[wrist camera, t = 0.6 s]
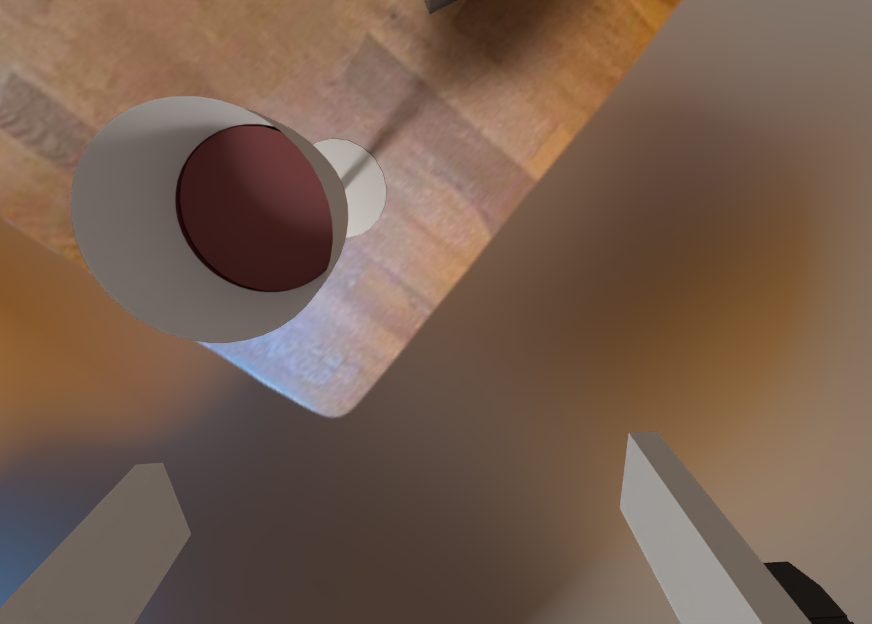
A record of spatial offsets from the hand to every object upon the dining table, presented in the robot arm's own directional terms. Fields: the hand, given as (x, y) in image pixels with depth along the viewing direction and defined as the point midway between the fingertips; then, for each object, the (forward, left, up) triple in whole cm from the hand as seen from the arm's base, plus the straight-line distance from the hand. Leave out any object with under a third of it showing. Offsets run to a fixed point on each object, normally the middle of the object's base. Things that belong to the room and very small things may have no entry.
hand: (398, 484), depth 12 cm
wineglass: (-9, -5, -30) cm, 31 cm away
